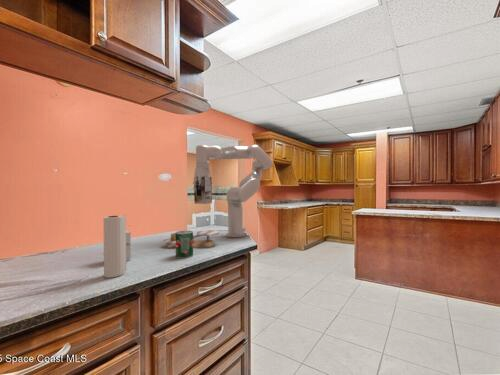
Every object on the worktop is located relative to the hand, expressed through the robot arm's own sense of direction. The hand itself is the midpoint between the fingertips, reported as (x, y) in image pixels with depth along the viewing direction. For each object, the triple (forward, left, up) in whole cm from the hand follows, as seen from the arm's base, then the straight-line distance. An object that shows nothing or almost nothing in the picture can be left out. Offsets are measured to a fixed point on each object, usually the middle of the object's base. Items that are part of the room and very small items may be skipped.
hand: (203, 195), depth 148 cm
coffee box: (0, 0, -5) cm, 5 cm away
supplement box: (+50, -4, -27) cm, 57 cm away
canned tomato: (+31, +15, -27) cm, 44 cm away
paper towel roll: (+61, +12, -27) cm, 68 cm away
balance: (+14, +3, -27) cm, 30 cm away
